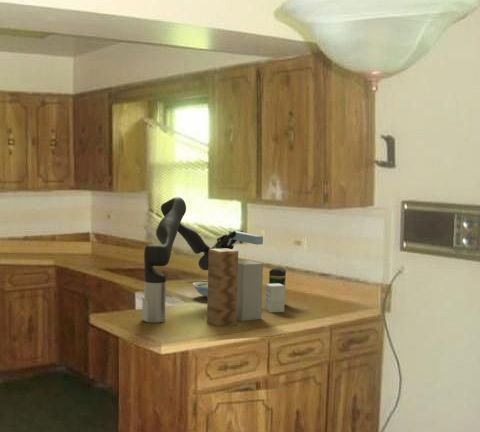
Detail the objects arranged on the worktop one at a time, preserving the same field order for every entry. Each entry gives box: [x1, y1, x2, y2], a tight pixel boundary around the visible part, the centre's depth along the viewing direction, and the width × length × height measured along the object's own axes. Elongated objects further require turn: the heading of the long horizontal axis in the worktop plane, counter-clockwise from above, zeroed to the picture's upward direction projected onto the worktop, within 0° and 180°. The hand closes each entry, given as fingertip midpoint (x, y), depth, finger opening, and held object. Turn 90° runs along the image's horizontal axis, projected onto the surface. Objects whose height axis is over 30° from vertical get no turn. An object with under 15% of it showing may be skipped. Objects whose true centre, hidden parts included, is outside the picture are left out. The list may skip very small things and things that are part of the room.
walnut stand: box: [206, 248, 239, 327], centre depth 316 cm, size 9×10×32 cm
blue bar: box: [228, 230, 264, 246], centre depth 330 cm, size 4×24×4 cm, turn 31°
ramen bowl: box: [187, 279, 208, 299], centre depth 376 cm, size 25×23×8 cm
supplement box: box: [264, 283, 286, 313], centre depth 348 cm, size 7×7×13 cm
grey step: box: [236, 259, 264, 322], centre depth 331 cm, size 10×12×25 cm
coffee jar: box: [268, 266, 287, 287], centre depth 362 cm, size 10×8×19 cm
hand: (238, 232), depth 335 cm, fingers closed on blue bar, 3 cm apart
